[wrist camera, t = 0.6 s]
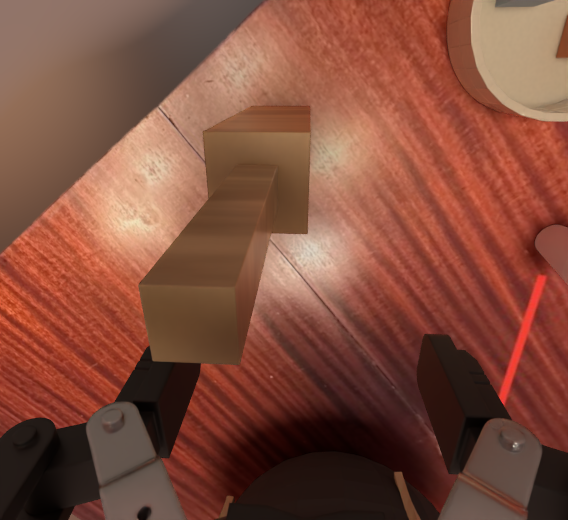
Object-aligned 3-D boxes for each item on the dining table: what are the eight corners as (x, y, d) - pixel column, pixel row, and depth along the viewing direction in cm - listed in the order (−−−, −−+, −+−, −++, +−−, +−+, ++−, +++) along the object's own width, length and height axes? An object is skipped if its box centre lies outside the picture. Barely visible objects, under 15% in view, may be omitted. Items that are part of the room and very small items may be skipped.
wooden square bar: (236, 164, 22) (137, 284, 9) (278, 165, 22) (235, 287, 9) (238, 204, 23) (151, 361, 10) (278, 205, 23) (239, 365, 10)
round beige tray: (468, -115, 31) (501, -155, 26) (694, -120, 30) (779, -163, 25) (431, 114, 38) (451, 120, 33) (611, 115, 38) (662, 122, 32)
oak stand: (251, 105, 39) (202, 131, 21) (310, 106, 39) (310, 132, 21) (253, 164, 42) (211, 231, 24) (308, 165, 41) (307, 234, 23)
